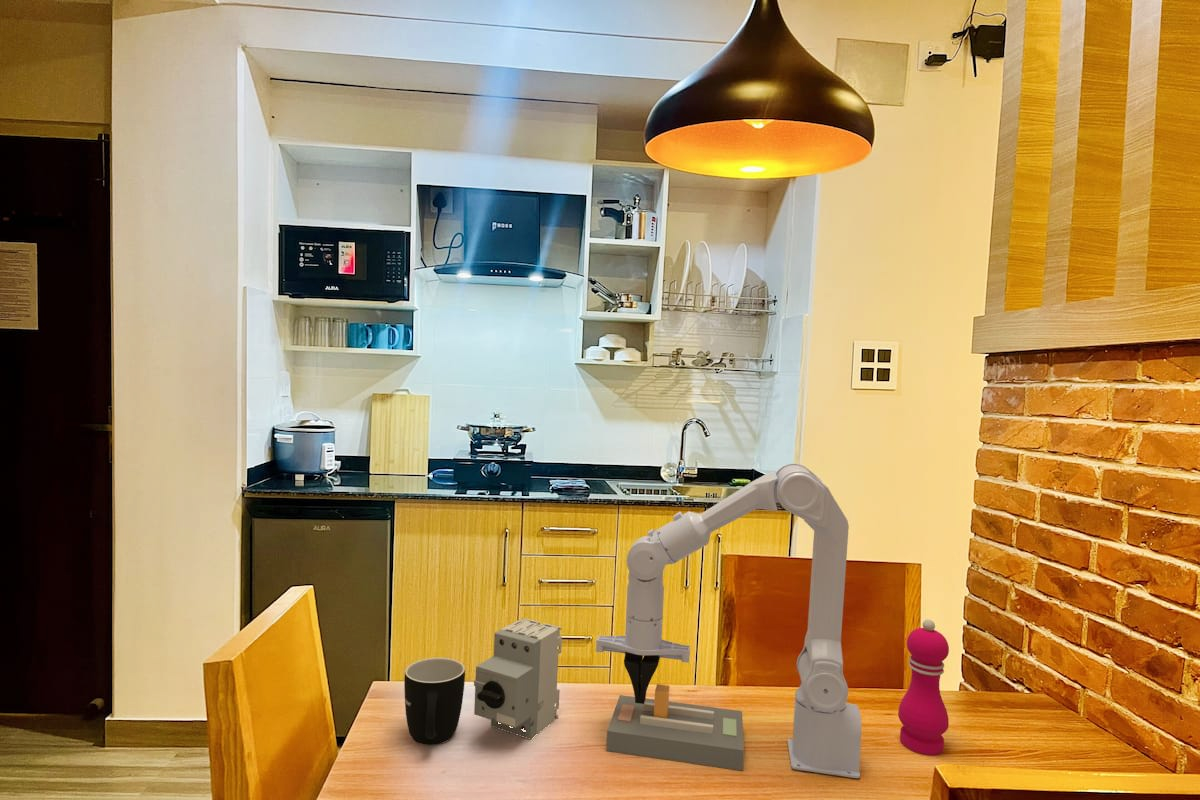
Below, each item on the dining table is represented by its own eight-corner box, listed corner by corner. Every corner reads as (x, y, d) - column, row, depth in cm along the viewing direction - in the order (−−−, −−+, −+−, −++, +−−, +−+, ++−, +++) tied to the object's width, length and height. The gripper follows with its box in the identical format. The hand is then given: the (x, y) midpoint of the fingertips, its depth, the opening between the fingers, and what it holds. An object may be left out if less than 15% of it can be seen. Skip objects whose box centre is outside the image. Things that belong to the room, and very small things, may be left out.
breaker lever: (668, 713, 108) (669, 685, 108) (666, 722, 105) (667, 693, 105) (655, 712, 108) (656, 684, 108) (653, 720, 106) (654, 691, 105)
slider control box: (741, 729, 110) (742, 705, 110) (742, 770, 99) (744, 743, 99) (619, 712, 114) (620, 689, 114) (606, 750, 102) (607, 724, 102)
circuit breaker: (466, 744, 102) (469, 645, 102) (520, 705, 115) (523, 617, 115) (507, 759, 99) (511, 656, 99) (558, 717, 112) (562, 626, 111)
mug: (405, 720, 108) (408, 657, 108) (463, 718, 110) (466, 656, 110) (396, 763, 97) (398, 693, 96) (460, 760, 98) (463, 691, 98)
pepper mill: (941, 737, 111) (949, 615, 110) (951, 761, 104) (959, 631, 103) (893, 729, 113) (900, 609, 112) (900, 752, 106) (908, 624, 105)
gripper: (692, 611, 109) (688, 695, 110) (603, 602, 112) (599, 683, 113) (690, 626, 103) (685, 716, 103) (595, 616, 105) (591, 703, 106)
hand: (640, 700), depth 107 cm, fingers closed
